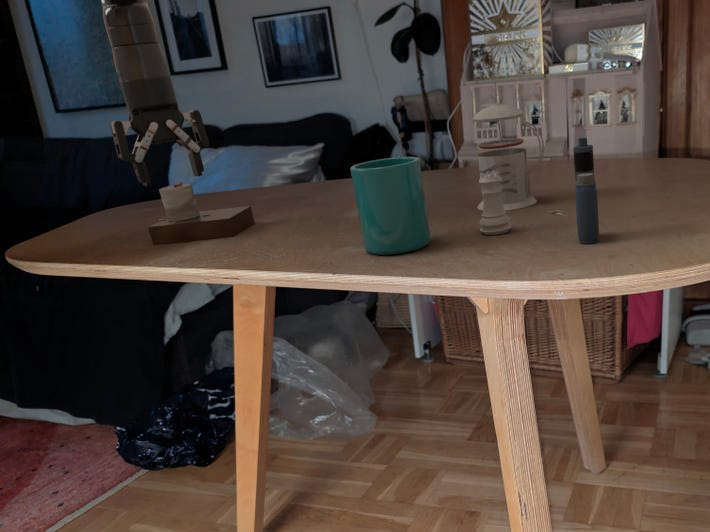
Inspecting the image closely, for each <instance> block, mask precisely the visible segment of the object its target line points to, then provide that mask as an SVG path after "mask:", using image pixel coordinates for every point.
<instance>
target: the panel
mask: <svg viewBox="0 0 710 532" xmlns="http://www.w3.org/2000/svg"><path fill="white" fill-rule="evenodd" d="M199 213H200V215H199V216H197V217H195V218H191V219H187V220H181V221H168V219H167V217H166V218H161V219H160V218H159V219H157V222H155V223H153V224H151V225H149V226H148V227H147V229H148V233H149V236H150V239H151V242H152V245H153V246H154V245H164V244H174V243H183V242H193V241H203V240H214V239H221V238H222V239H225V238H232V237H235V236H237V235H239V234H240V233H242V232H243V231H244V230H246V229H248V228H249V227H251V226H253V225H254V224H255V218H254V215H253V211H252V206H251V205H248V206H238V207H237V206H236V207H229V208H220V209H219V208H218V209H211V210H210V209H209V210H199Z"/></svg>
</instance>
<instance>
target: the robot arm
mask: <svg viewBox="0 0 710 532" xmlns="http://www.w3.org/2000/svg"><path fill="white" fill-rule="evenodd" d="M100 3H101V6H102V17H103V23H104V28H105V30H106V34H107V38H108V40H109V44H110V47H111V52H112V58H113V63H114V67H115V72H116V73H115V74H116V78H117V79H118V81H119V85H120V88H121V92H122V96H123V98H124V102H125V105H126V109H127V111H128V115H129V117H128V120H123V121H122V120H121V121H120V120H112V121H110V123H109V126H110V131H111V135H112V139H113V142H114V145H115V146H114V147H115V151H116V155H117V158H118V159H119V160H120V161H126V162H130V163H131V164H132V166H133V169H134V173H135V175H136V179H137V181H138V182H139V183H140V184H142V185H143V187H150V186H152V181H151V177H150V174H149V171H148V166H147V164H146V162H145V161H144V158H145V156H146V154H147V151H148V150H149V149H150V146H151V145H160V144H163V143H173V142H175V141H176V142H177V143H178V144H180V145H181V146H182V147H184V148H185V149H186V150H187V151H188V152H189V153H187V155H188V159H189V163H190V167H191V170H192V174H193V176H194V177H202V176H203V173H204V171H205V167H204V164H203V160H202V156H201V152H202V150H204V149H205V148H208V147H209V146H210V143H211V142H210V140H209V137H208V133H207V130H206V127H205V124H204V120H203V117H202V114H201V112H200V111H199V110H197V109H191V110H190V109H189V111H186V112H182V111H181V110H180V108H179V104H178V101H177V97H176V93H175V88H174V85H173V81H172V78H171V77H172V76H171V74H170V70H169V67H168V63H167V60H166V56H165V54H164V51H163V49H162V46H161V44H160V39H159V34H158V32H157V28H156V25H155V21H154V17H153V14H152V12H151V10H150V8H149V5H148V0H100ZM184 122H186V123H187V125H189V126H191V128H192V132H193V135H194V138H195V141H194V140H193V139H192V138H191V137H190V135H188V134H187V133H186V132H185V131H184V130H183V129H182V128H183V124H184ZM129 129H131V130H133V131H134V132H135V134H137V138H136V140H135V143H134V145H133V146H134V147H133V150H132V152H131V153H130V150H129V145H128V141H127V137H126V136H127V135H128V134H129Z"/></svg>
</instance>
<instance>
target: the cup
mask: <svg viewBox="0 0 710 532" xmlns="http://www.w3.org/2000/svg"><path fill="white" fill-rule="evenodd" d="M349 170H350V175H351V181H352V186H353V191H354V197H355V202H356V207H357V208H356V209H357V213H358V219H359V224H360V231H361V236H362V241H363V246H364V249H365V250H366V252H368V253H369V254H372V255H377V256H392V255H393V256H394V255H400V254H401V255H402V254H407V253H411V252H414V251H415V252H416V251H418V250H420V249H422V248H424V247H426V246H427V245H429V243H430V242H431V230H430V223H429V216H428V209H427V203H426V195H425V189H424V181H423V175H422V169H421V160H420V158H419V157H417V156H398V157H397V156H396V157H388V158H387V157H386V158H381V159H375V160H374V159H373V160H369V161H364V162H360V163H357V164H354V165H352V166H350V168H349Z"/></svg>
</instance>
